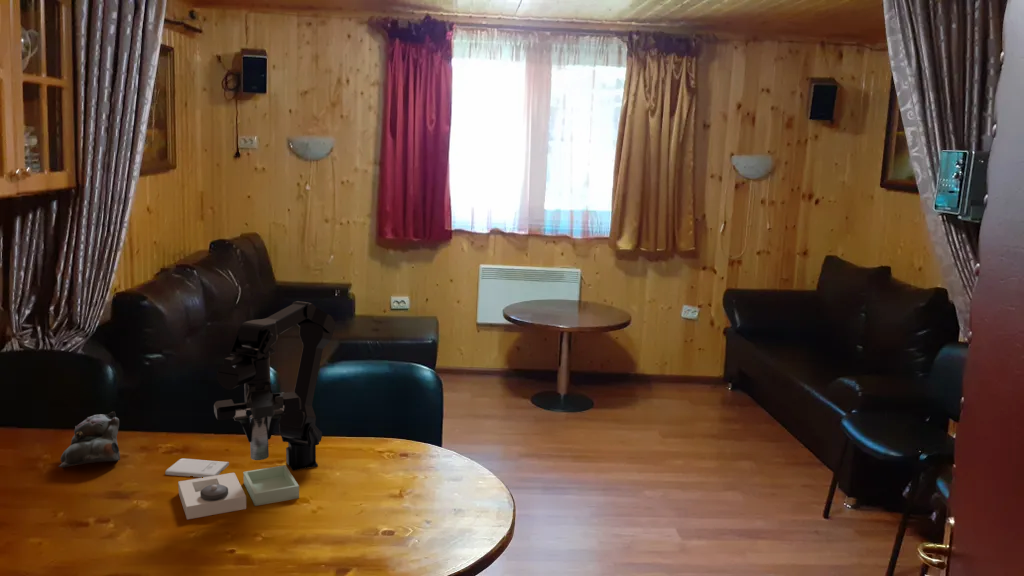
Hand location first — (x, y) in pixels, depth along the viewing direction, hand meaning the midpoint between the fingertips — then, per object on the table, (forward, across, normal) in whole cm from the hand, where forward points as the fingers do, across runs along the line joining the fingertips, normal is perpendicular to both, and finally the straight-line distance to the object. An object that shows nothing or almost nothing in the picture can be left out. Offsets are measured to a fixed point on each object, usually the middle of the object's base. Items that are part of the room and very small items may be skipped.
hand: (259, 440), depth 188 cm
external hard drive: (+14, -12, +18) cm, 26 cm away
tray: (+13, +2, -1) cm, 13 cm away
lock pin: (+4, 0, 0) cm, 4 cm away
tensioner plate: (+13, -11, -1) cm, 17 cm away
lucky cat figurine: (+13, -36, +32) cm, 50 cm away
